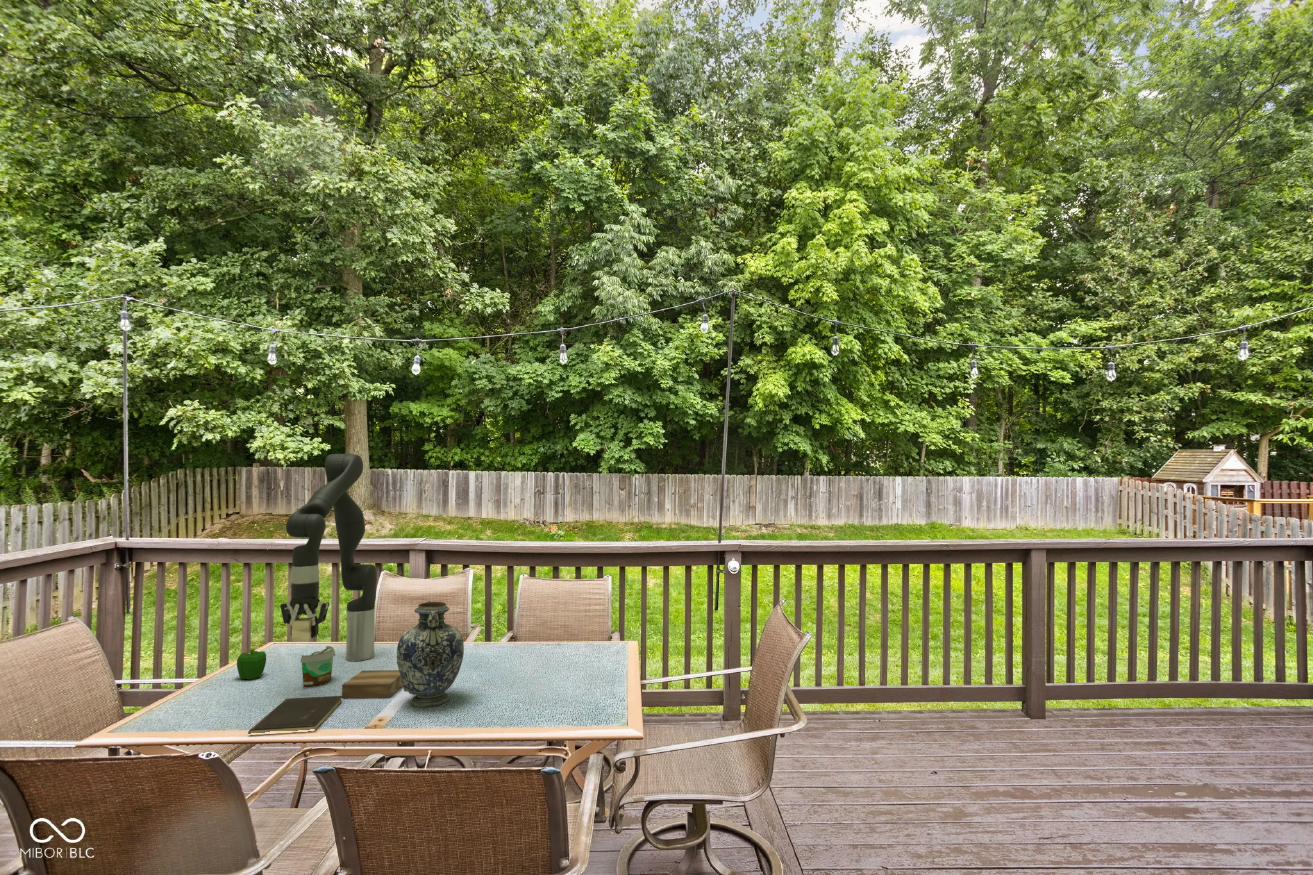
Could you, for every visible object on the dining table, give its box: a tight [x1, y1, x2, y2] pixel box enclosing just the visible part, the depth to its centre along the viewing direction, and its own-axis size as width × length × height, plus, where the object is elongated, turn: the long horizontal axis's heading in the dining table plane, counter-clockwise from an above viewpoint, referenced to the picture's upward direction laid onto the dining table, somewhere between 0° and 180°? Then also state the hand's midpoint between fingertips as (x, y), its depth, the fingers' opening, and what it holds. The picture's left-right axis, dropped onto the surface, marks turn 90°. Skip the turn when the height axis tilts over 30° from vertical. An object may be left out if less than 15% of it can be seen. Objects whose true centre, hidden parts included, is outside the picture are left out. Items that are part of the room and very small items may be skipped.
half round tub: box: [300, 645, 336, 688], centre depth 213 cm, size 12×6×10 cm, turn 168°
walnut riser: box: [341, 669, 403, 700], centre depth 205 cm, size 14×14×4 cm
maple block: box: [291, 617, 318, 643], centre depth 201 cm, size 5×5×6 cm
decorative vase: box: [396, 600, 465, 708], centre depth 196 cm, size 21×19×28 cm
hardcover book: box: [247, 695, 343, 735], centre depth 183 cm, size 16×23×2 cm
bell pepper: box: [236, 647, 267, 681], centre depth 218 cm, size 8×8×10 cm
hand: (304, 637), depth 201 cm, fingers closed on maple block, 5 cm apart
